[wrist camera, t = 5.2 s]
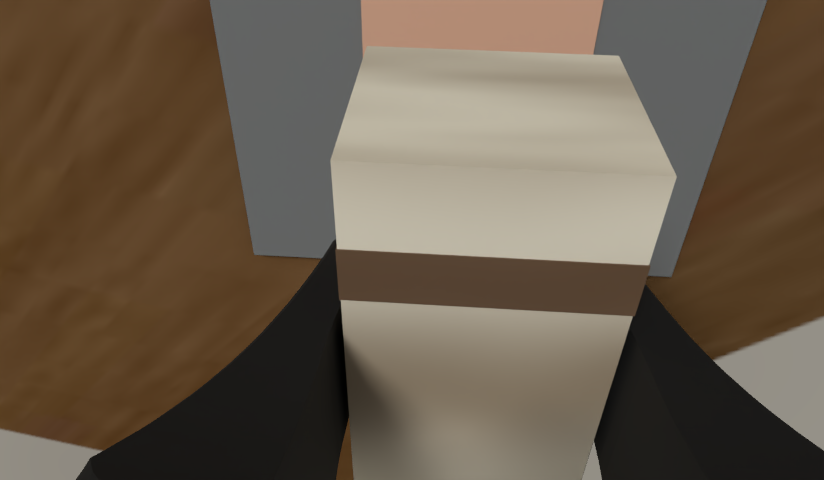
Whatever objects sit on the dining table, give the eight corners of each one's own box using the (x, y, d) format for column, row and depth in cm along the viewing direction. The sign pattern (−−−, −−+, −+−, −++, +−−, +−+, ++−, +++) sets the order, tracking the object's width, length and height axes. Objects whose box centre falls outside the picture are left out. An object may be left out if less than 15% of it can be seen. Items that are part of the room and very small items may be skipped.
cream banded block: (546, 384, 17) (565, 533, 14) (376, 373, 17) (355, 518, 14) (619, 55, 11) (678, 177, 8) (366, 45, 12) (328, 160, 8)
